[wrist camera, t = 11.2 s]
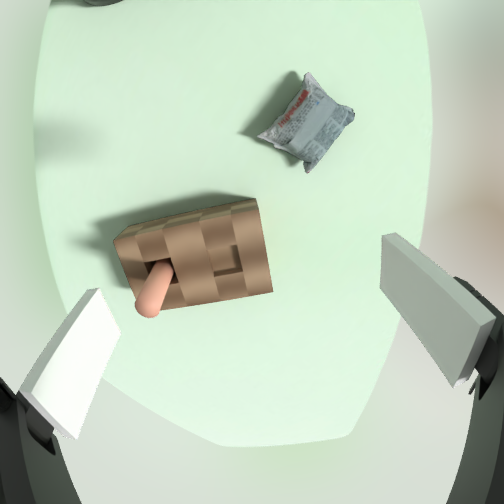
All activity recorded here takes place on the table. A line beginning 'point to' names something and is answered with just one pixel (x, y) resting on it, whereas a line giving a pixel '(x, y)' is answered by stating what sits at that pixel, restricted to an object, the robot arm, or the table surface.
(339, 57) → the table surface
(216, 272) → the bore block
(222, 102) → the table surface
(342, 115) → the packaged food
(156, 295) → the dowel
